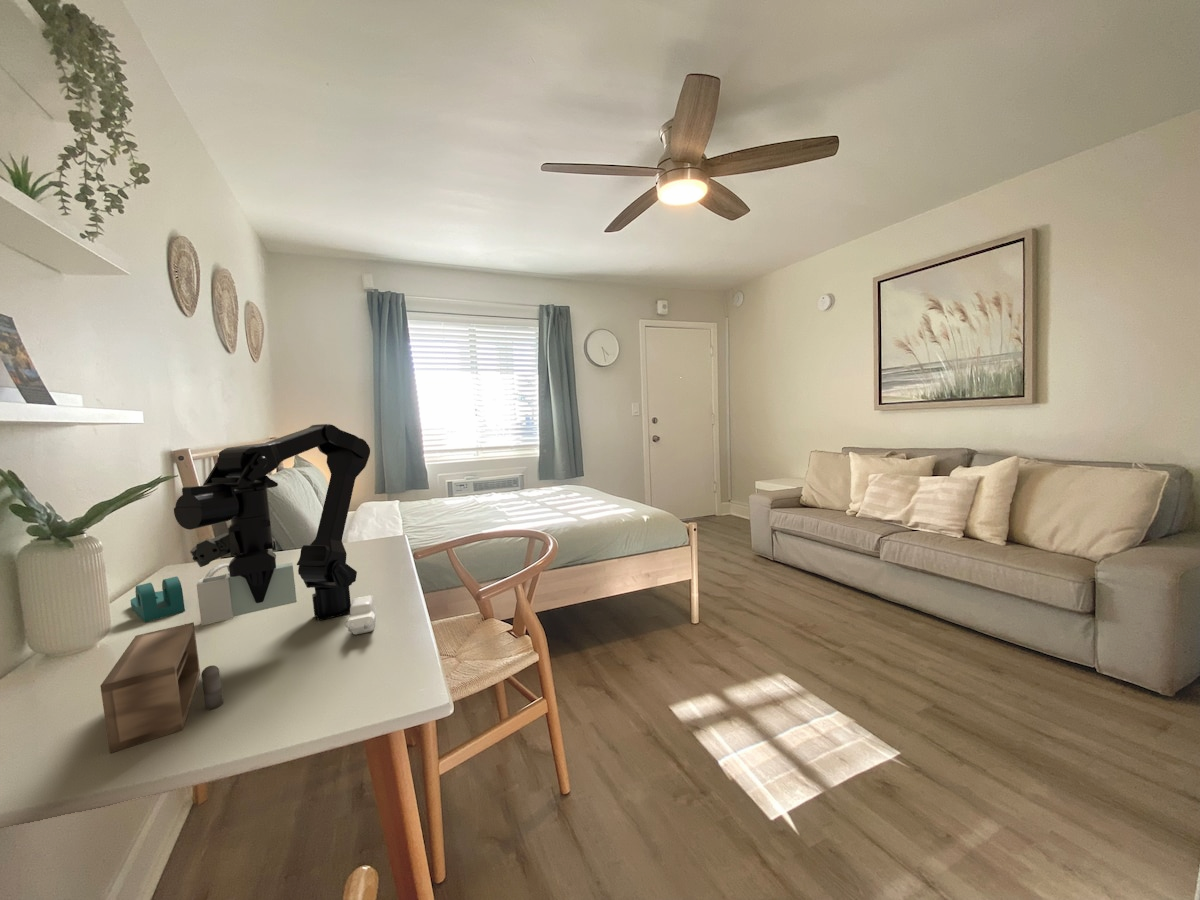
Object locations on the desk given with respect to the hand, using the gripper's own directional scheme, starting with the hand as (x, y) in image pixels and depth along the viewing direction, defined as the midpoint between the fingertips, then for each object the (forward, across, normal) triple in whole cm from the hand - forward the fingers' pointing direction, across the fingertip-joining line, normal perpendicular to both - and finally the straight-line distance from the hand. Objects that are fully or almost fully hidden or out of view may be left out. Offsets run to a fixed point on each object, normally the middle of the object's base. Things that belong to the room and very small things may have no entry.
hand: (259, 600), depth 85 cm
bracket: (+10, -45, -22) cm, 51 cm away
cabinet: (+9, +12, -10) cm, 18 cm away
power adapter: (+10, +5, +16) cm, 19 cm away
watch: (+10, -29, -7) cm, 31 cm away
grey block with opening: (+2, 0, -1) cm, 2 cm away
